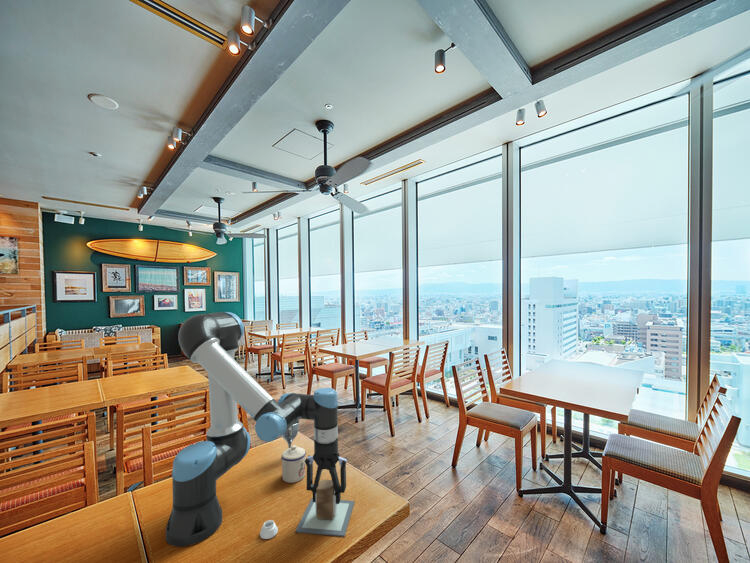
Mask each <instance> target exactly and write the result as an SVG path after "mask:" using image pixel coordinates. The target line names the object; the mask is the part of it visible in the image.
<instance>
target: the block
mask: <svg viewBox="0 0 750 563" xmlns="http://www.w3.org/2000/svg"><path fill="white" fill-rule="evenodd" d="M334 492H335V490H334V486H333V482H332V479H321V478H320V481H319V485H318V487H317V518H319V519H331V520H332V519H333V494H334Z"/></svg>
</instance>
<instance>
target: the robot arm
mask: <svg viewBox="0 0 750 563" xmlns="http://www.w3.org/2000/svg"><path fill="white" fill-rule="evenodd" d="M244 333H245V326H244V322H243V321H242V319H241V318H240V317H239V316H238V315H237V314H235V313H233V312H230V311H219V312H210V313H200V314H199V313H198V314H195V315H192V316H191V317H188V318H187V319H186V320H185V321H184V322H183V323H182V324H181V325H180V328H179V330H178V339H177V340H178V343H179V347H180V349H181V351H182V352H183V354H184V355H185V356H186V357H187V358H188V359H189V360H190V361H191V363H193V364H197V363H198V364H199V365H200V366H201V367H202V368H203V370H205V372H207V377H208V394H209V397H208V398H209V412H210V415H209V416H210V427H209V428H208V429H207V430H206V434H205V435H206V440H201V441H197V442H195V443H191V444H189V445H187V446H185V447H184V448H182V449H181V450H180V451H178V453H177V454H176V455H175V457H174V458H173V462H172V470H171V477H172V478H171V480H172V509H171V512H170V515H169V518H168V520H167V524H166V526H165V542H166V544H168V545H170V546H172V547H176V548H177V547H179V548H180V547H181V548H182V547H183V548H184V547H188V546H192V545H195V544H198V543H200V542H203V541H205V540H206V539H208V538H209V537H210V536H212V535H213V534H214V533H215V532H216V531H217V530H219V528H220V526H221V525H222V523H223V508H222V506H221V504H220V503H219V499H218V496H217V480H219V479H220V478H221V477H222V476H224V474H226V473H228V472H229V471H230V470H231V469H232V468H233V467H235V466H236V465H237V464H239V463H241V462H242V460H243V459H245V457H246V456H247V455H248V453H249V451H250V447H251V443H252V442H251V441H252V440H251V436H250V433H249V431H248V432H247V429H246V428H245V427H244V424H243V422H241V421H240V420H239V417H238V405H239V406H240V407H241V408H242V409H243V410H244V411H245V413H247V414H248V415H249V416H250V417H251V418H252V419H253V420H254V421H255V424H254V430H255V433H256V436H257V438H258V439H259V440H261V441H263V442H265V443H266V442H267V443H269V442H270V443H271V442H273V441H275V440H277V439H278V438H280V437H282V434H284V433H285V431H286V430H288V429H289V428H290V427H291V426H292V425H294V424H295V423H296V422H297V421H298V420H299V421H300V420H310V421H311V420H312V421H313V433H314V434H313V438H314V441H313V443H314V447H313V448H314V449H313V452H314V454H313V455H307V456H306V457H305V467H306V491H311V492H312V493H311V494H312V498H313V502H316V515H317V487H318V485H319V483H320V481H321V476H322V472H323V470H327V471H328V472H329V474H330V477H331V480H332V482H333V486H334V490H335V492H334V494H333V516H336V514H337V511H338V504H339V503H340V500H342V499H341V498H342V497H341V494H344V493H345V491H346V488H347V466H346V465H347V462H348V457H341V456H340V453H339V439H338V437H339V432H338V431H339V430H338V429H339V426H338V425H339V423H338V417H339V416H338V414H339V413H338V411H339V410H338V408H339V406H338V405H339V402H338V393H337V391H336V390H335V388H333V387H332V388H331V387H320V388H317V389H316V390H315V391H314V392H313V394H304V393H295V392H290V393H289V392H288V393H287V392H286V393H283V394H281V395H280V397H279V399H278V401H277V400H276V399H274V397H273V396H271V395H270V393H268V391H267V390H266V389H264V387H262V386H261V384H259V382H258V381H257V380H255V379H254V378H253V377H252V376H251V375H250V374H249V373H248V372H247V370H246V369H245V368H244V367H242V365H240V363H238V362H237V361H236V360H235V354H236V352H237V351H238V349H239V341H240V340H241V339H242V337H243V336H244ZM314 462H315V465H317V469H316V473H315V477H314V476H313V474H314V473H313V472H314V470H313V468H314V465H313V464H314ZM337 463H339V466H340V470H339V471H340V479H339V476H338V472H337ZM313 479H314V481H313Z"/></svg>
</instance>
